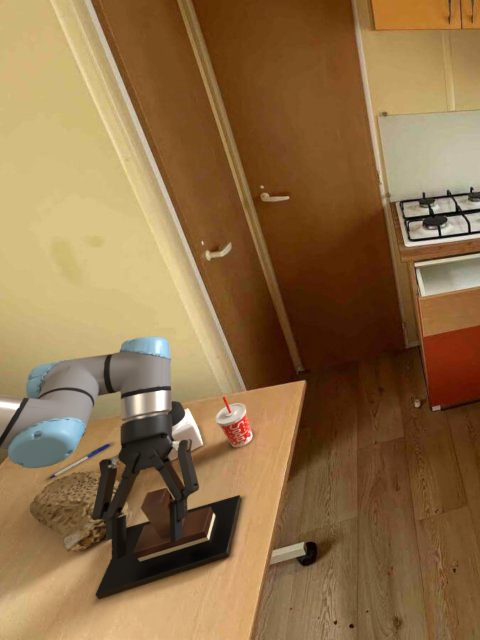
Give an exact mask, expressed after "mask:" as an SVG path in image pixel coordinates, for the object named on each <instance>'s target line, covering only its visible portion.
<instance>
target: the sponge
mask: <svg viewBox="0 0 480 640" xmlns="http://www.w3.org/2000/svg"><path fill="white" fill-rule="evenodd" d="M100 476H101V472H97V471H95V470H89V471H78V472H72V473H71V474H69V475H68V474H67V475H63V476H61V477H59V478H57V479H54V480H53V481H52V482H50V483H48V484H47V485H46V486H45V487H44V489H42V490H41V492H39V493H37V494H36V495H35V497H34V498H33V501H31V503H30V505H29V512H30V513H31V515H32V517H33V518H34V519H35V520H36V521H37V522H39V524H41V525H42V526H45V527H47V528H49V529H51V531H52V532H55V533H56V534H60V538H59V539H60V541H61V544H62V546H63V547H64V549H65V550H66V552H67V553H70V552H71V553H76V552H79V551H80V552H81V551H84V550H86V549H87V547H90V546H92V545H94V544H96V543H98V542H100V541H101V539H102V540H103V539H104V537H105V535H106V521H105V520H93V519H92V515H93V510H94V505H95V500H96V495H97V490H98V486H99V481H100ZM119 483H120V481H119V480H118V479H115V484H114V490H113V495H112V499H113V497H114V495H115V492H116V490H117V488H118V486H119ZM111 501H112V500H111ZM121 513H123V514H122V515H121V516H124V515H126V520H127V519H128V517H129V504H128V502H127V501H126V503H125V505H124V508H123V510H122V512H121ZM121 516H119V517H121Z"/></svg>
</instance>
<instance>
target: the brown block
mask: <svg viewBox="0 0 480 640" xmlns="http://www.w3.org/2000/svg"><path fill="white" fill-rule="evenodd" d="M173 500H174V497H173V496H172V494H171V492H170V490H169V489H168V487H163V488H159V489H155V490H152V491H148V492H147V493H146V494H145V497H144V499H143V502H142V504H141V506H140V510H142V512H143V514H144V515H145V517H146V519H148V521H150V523H151V524H149V525H146V526H144V527H143V530H142V532H141V535H140V537H139V540H138V542H137V545H136V547H135V550H134V552H133V553H134V554H135V555H136V557H137V558H138V560H139V561H143V560H147V559H150V558H153V557H156V556H159V555H163V554H166V553H169V552H172V551H176V550H179V549H182V548H185V547H188V546H192V545H195V544H198V543H201V542H205V541H208V540H209V538H210V534H211V530H212V526H213V522H214V519H215V514H214V512H213V511H212V509H211V507H208V508H204V509H201V510H197V511H194V512H190V513H188V514H187V517H185V518H183V519H182V530H183V537H182V538H181V539H179V540H178V541H176V542H173V543H171V540H170V503H173V502H174V501H173Z"/></svg>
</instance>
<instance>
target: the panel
mask: <svg viewBox="0 0 480 640" xmlns="http://www.w3.org/2000/svg"><path fill="white" fill-rule="evenodd" d="M242 500H243V498H242V496H241V495H240V494H238V495H235V496H231V497H227V498H224V499H221V500H217V501H214V502H211V503H206V504H203V505H200V506H196V507H193V508H190V509H188V513H190V512H194V511H197V510H201V509H204V508H208V507H211V509H212V511H213V512H214V514H215V519H214V522H213V526H212V530H211V534H210V538H209V540H208V541H205V542H201V543H198V544H195V545H192V546H188V547H185V548H182V549H179V550H176V551H172V552H169V553H166V554H163V555H159V556H156V557H153V558H150V559H147V560H143V561H139V560H138V558H137V557H136V555H135V554H134V553H133V552H134V550H135V547H136V545H137V542H138V540H139V537H140V535H141V532H142V530H143V527H144V526H146V525H149V524H151V523H150V521H149V520H148V521H144V522H141V523H137V524H133V525H130V526H126V555H124V556H123V557H121V558H119V559H117V560H114V561H111V559H110V560H109V563H108V565H107V567H106V570H105V572H104V573H103V576H102V578H101V581H100V583H99V584H98V588H97V589H96V592H95V594H94V596H95V597H96V598H97V599H98V600H101V599H105V598H108V597H111V596H114V595H117V594H120V593H123V592H126V591H129V590H132V589H135V588H139V587H142V586H145V585H148V584H150V583H153V582H158V581H160V580H164V579H166V578H169V577H173V576H176V575H179V574H182V573H186V572H188V571H191V570H194V569H196V568H200V567H203V566H206V565H209V564H212V563H216V562H219V561H222V560H224V559H225V560H226V559H227V558H230V555H231V551H232V545H233V540H234V538H235V537H234V536H235V533H236V532H235V531H236V527H237V523H238V519H239V514H240V510H241V504H242Z"/></svg>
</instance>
